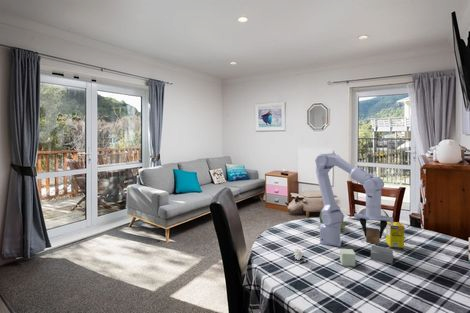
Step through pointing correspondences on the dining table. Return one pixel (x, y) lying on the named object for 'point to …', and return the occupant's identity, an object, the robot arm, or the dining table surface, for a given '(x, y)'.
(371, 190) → the robot arm
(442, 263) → the dining table surface
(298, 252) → the white lumpy piece
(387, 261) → the pedestal block
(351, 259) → the sage cube
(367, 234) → the walnut cube
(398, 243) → the supplement box
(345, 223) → the vegetable
